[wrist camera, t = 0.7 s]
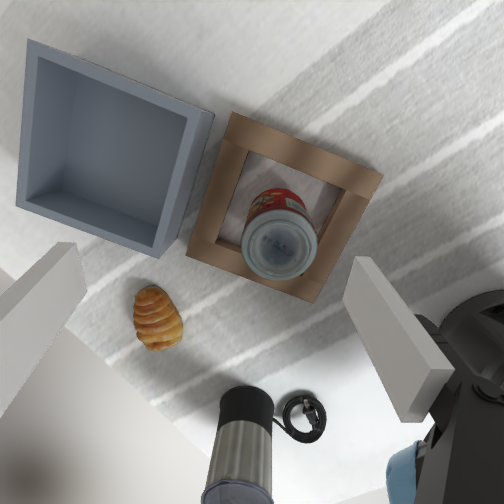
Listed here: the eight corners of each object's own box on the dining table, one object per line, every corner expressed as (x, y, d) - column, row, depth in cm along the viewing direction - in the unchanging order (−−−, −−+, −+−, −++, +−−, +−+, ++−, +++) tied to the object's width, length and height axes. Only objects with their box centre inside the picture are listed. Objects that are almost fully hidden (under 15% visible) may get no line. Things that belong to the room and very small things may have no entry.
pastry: (128, 286, 44) (115, 300, 40) (172, 280, 43) (164, 294, 39) (147, 339, 47) (137, 356, 44) (189, 334, 46) (182, 351, 43)
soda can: (264, 175, 36) (261, 197, 25) (315, 201, 37) (335, 234, 26) (239, 225, 39) (226, 265, 28) (288, 248, 40) (294, 297, 28)
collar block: (378, 172, 35) (383, 175, 34) (311, 295, 42) (313, 303, 40) (234, 112, 34) (232, 111, 32) (189, 249, 41) (185, 255, 39)
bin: (214, 114, 34) (201, 111, 28) (177, 237, 40) (158, 258, 34) (76, 56, 33) (27, 38, 26) (58, 193, 39) (15, 205, 32)
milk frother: (208, 399, 51) (184, 498, 37) (284, 357, 47) (290, 452, 33) (259, 447, 55) (255, 554, 41) (334, 412, 50) (357, 519, 37)
